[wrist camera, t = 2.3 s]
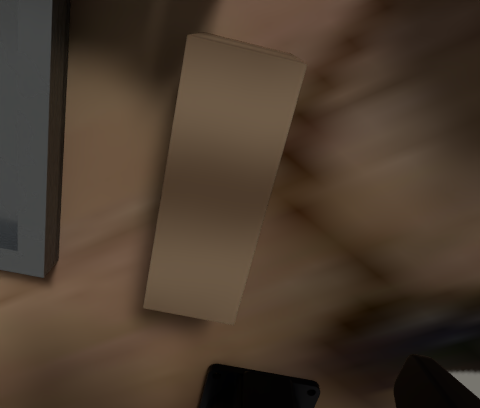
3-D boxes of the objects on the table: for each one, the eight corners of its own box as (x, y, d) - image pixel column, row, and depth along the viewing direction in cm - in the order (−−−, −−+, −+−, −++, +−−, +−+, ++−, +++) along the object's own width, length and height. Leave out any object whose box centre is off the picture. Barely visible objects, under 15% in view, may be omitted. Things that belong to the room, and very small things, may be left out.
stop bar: (236, 258, 21) (233, 325, 16) (166, 244, 20) (143, 308, 16) (290, 53, 17) (307, 64, 12) (203, 31, 16) (187, 34, 12)
